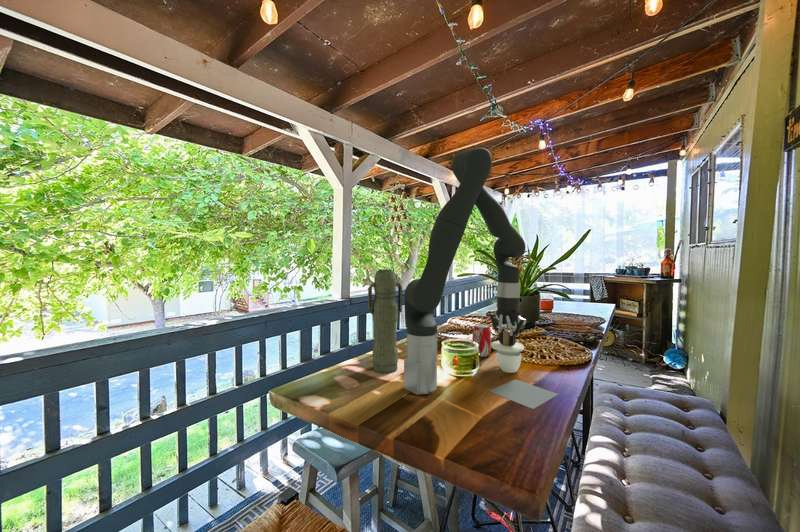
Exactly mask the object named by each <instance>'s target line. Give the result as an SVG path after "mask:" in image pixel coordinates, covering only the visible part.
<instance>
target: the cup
mask: <svg viewBox="0 0 800 532" xmlns="http://www.w3.org/2000/svg"><path fill="white" fill-rule="evenodd" d="M495 358H496V361H497V363H498V366H499V368H500V370H501V371H503V372H504V373H508V374H509V373H511V374H512V373H513V374H515V373H517V371H518V370H519V368H520V366H521V362H522V353H521V351H520V352H503V351H498V350H497V352H496V353H495Z"/></svg>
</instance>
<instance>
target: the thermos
mask: <svg viewBox="0 0 800 532" xmlns="http://www.w3.org/2000/svg"><path fill="white" fill-rule="evenodd" d="M373 287H374V288H373ZM397 288H398V295H397V296H398V298H397V296H396V293H397ZM373 289H374V291H373ZM373 292H374V297H373V295H372V294H373ZM372 297H373V298H372ZM373 299H374V300H373ZM397 299H398V302H397ZM372 301H373V302H372ZM367 302H368V303H367V305H368V306H367V307H368V308H367V311H368V312H369V313H370V314H371V316H372V321H373V349H372V364H373V365H372V370H373V372H375V373H378V374H392V373H395V372H397V371H398V362H399V350H398V347H397V322H398V319H399V314H400V313H402V310H403V286H402V285H401V283H399V282H397V277H396V275H395V271H394V270H392V269H378V270H376V272H375V275H374V279H373V283H371V284H370V285H369V286H368V288H367Z"/></svg>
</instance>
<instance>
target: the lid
mask: <svg viewBox="0 0 800 532" xmlns="http://www.w3.org/2000/svg"><path fill="white" fill-rule="evenodd" d="M509 335H510V332H509V329H505V330H503V344H500V342H499V340H494V341H491V349H493V350H495V351H497V352H498V351H503V352H520V353H521V352H523V351H524V350H525V346H524V345H523V344H522V343H519V342H516V343H515V344H514V346H509Z"/></svg>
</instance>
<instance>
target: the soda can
mask: <svg viewBox="0 0 800 532" xmlns="http://www.w3.org/2000/svg"><path fill="white" fill-rule="evenodd" d="M473 341H475V342H477V343H478V344H479V353H480V357H479V358H487V357H488V356H490V355H491V351H492V350H491V349H492V347H491V343H492V330H491V328H490V325H489V324H486V323H475V324H474V326H473V328H472V342H473Z"/></svg>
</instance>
